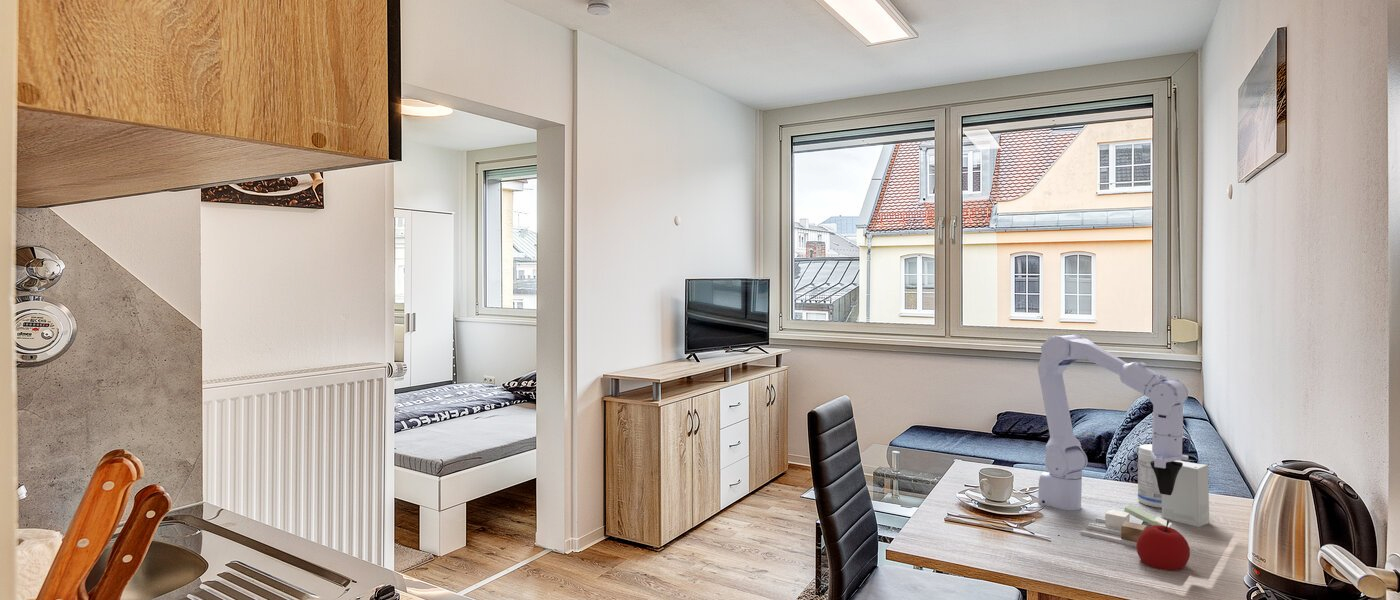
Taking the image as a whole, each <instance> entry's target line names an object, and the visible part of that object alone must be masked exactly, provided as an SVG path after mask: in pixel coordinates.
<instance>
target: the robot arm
mask: <svg viewBox="0 0 1400 600" xmlns="http://www.w3.org/2000/svg"><path fill="white" fill-rule="evenodd" d="M1040 350H1041V355H1040V359H1039V360H1038V361H1039V362H1038V366H1037V373H1038V378H1039V384H1040V389H1041V394H1042V401H1043V404H1044V411H1045V417H1046V422H1047V427H1048V432H1049V439H1048V441H1047V443H1046V444H1045V456H1044V466H1045V469H1046V470H1047V471H1048V472H1047V471H1042V472H1041V474H1040V475H1039V479H1038V496H1037V498H1038V499H1037V500H1038V501H1037V503H1038V504H1039V505H1043V506H1048V507H1052V508H1056V509H1060V510H1065V511H1066V510H1067V511H1078V510H1082V483H1083V481H1082V478H1083V470H1085V469H1086V467H1087V465H1088V456H1087V454H1086V452H1085V450H1083V448H1082V444H1081V441H1080V440H1079V439H1078V438H1077V437H1076V436H1075V434H1074V429H1073V424H1072V418H1071V413H1070V409H1069V408H1070V407H1069V402H1068V398H1067V392H1066V388H1065V387H1066V386H1065V382H1064V372H1065V371H1066V370H1067V369H1068V368H1069V367H1070V366H1071V365H1072V364H1073V363H1075V362H1077V361H1079V360H1088V361H1089V362H1091V363H1094V364H1096V365H1098V366H1099V367H1102V368H1104V369H1106V370H1108V371H1110V372H1112V373H1115V374H1116V375H1118V376H1119V379H1120V382H1121V383H1122V384H1123V385H1126V386H1128V387H1130V388H1131V389H1133V390H1134V391H1137V392H1138V393H1140V394H1141V395H1144V396H1146V397H1147V398H1148V399H1149V401H1150V402H1151V404H1152V408H1153V409H1152V432H1151V433H1152V436H1151V437H1152V439H1151V441H1152V442H1151V444H1152V451H1151V456H1152V457H1153V458H1154V459H1155V460H1154V461H1151V462H1150V464H1151V467H1152V469H1153V470H1154V473H1155V475H1156V479H1157V483H1158V488H1159V492H1160V494H1165V495H1171V494H1172V492H1173V489H1174V485H1175V481H1176V477H1177V475H1178V472H1179V470H1180V469H1181V467H1182V466H1183V463H1181V462H1175V461H1177V460H1181V461H1184V460H1185V461H1187V460H1189V455H1186V454H1183V435H1184V434H1183V433H1184V432H1183V431H1184V430H1183V429H1184V403H1185V402H1186V401H1187V399H1188V398H1189V391H1188V388H1187V386H1186V385H1185V384H1184V383H1182V382H1181V381H1180V380H1179V379H1176V378H1175V379H1174V378H1170V379H1167V377H1168V376H1167V375H1165V374H1164V373H1161V374H1160V373H1157V372H1156V371H1154V370H1153V369H1150V368H1148V367H1147V366H1148V365H1147V364H1146V363H1145V362H1143V361H1142V362H1137V361H1133V362H1129V363H1128V362H1126V361H1124V360H1123V359H1121V358H1119V357H1118V356H1116V355H1115V354H1112V353H1111V352H1109V351H1108V350H1106V349H1105V348H1102V347H1101V346H1100V345H1097V344H1095V342H1092V340H1091V339H1087V338H1083V337H1082V336H1081V335H1079V334H1070V335H1052V336H1050V337H1048V338H1047V339H1046V340H1045V341H1044V342H1043V343H1042V345H1041V346H1040Z"/></svg>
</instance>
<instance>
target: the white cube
mask: <svg viewBox="0 0 1400 600" xmlns="http://www.w3.org/2000/svg"><path fill="white" fill-rule="evenodd" d="M1104 514H1105V516H1104V519H1105V523H1104V524H1105V525H1104V526H1108V527H1113V528H1118V529H1121V526H1122V525H1123V524H1124V523H1125V522H1126V521H1127V522H1130V517H1131V515H1130V513H1126V512H1124V511H1121V510H1115V509H1108V510H1107V511H1106V512H1105V513H1104Z"/></svg>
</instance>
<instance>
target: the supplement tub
mask: <svg viewBox="0 0 1400 600" xmlns="http://www.w3.org/2000/svg"><path fill="white" fill-rule="evenodd" d="M1151 451H1152V443H1149V444H1148V443H1146V444H1141V445H1139V446H1138V454H1137V455H1138V457H1137V500H1138V502H1140V503H1141V504H1143V505H1145V506H1148V507H1152V508H1157V509H1162V495H1161V494H1160V492H1159V488H1158V483H1157V479H1156V475H1155V473H1154V470H1153V469H1152V467H1151V464H1150V462H1151V461H1154V460H1155V459H1154V458H1153V457H1152V456H1151ZM1178 461H1182V460H1178Z"/></svg>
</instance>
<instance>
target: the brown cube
mask: <svg viewBox="0 0 1400 600" xmlns="http://www.w3.org/2000/svg"><path fill="white" fill-rule="evenodd" d="M1146 528H1147V525H1142V523H1138V522H1133V521H1132V522H1131V521H1129V522H1127V521H1126V522H1125V523H1124V524H1123V525H1122V526H1121V536H1120V539H1124V540H1128V541H1133V542H1137V540H1138V538H1139V536H1140V534H1141V533H1142V532H1143V530H1145V529H1146Z"/></svg>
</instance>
